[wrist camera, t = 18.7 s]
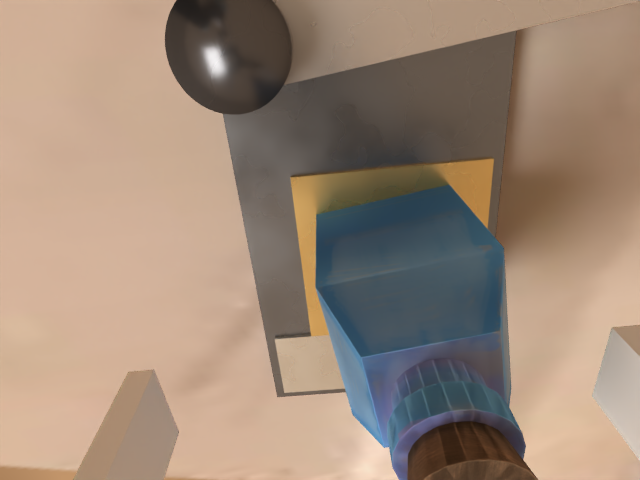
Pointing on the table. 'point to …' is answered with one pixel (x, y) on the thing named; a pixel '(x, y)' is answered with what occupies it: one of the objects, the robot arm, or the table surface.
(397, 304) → the perfume bottle
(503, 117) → the tray
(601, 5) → the swing arm
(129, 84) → the table surface
